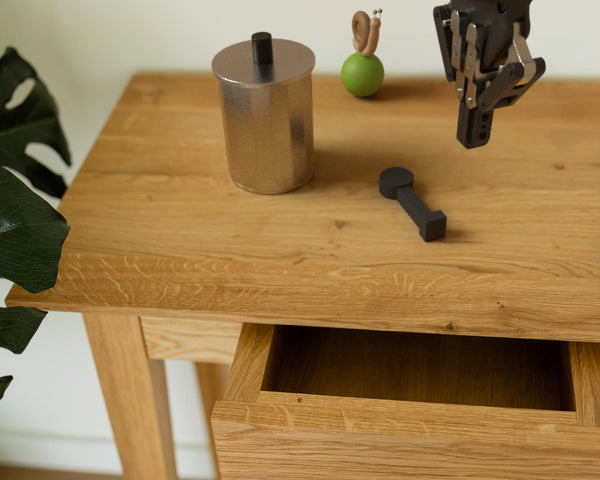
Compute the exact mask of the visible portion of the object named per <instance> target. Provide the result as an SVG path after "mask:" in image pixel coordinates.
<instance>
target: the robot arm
mask: <svg viewBox="0 0 600 480" xmlns="http://www.w3.org/2000/svg"><path fill="white" fill-rule="evenodd" d="M533 1H534V0H450V1H449V2H447V3H445V4H442V5H441V4H440V5H436V6H434V7H433V8H432V17H433V22H434V27H435V31H436V36H437V41H438V45H439V50H440V54H441V55H440V56H441V59H442V64H443V68H444V74H445V79H446V80H447V82H448V83H455V89H454V90H455V91H454V92H455V95H456V98H457V99H458V100H459V107H458V115H457V127H456V136H455V138H456V141H458V143H459V144H461V145H462V146H463V148H465V149H466V150H472V149H476V148H481V147H485V146H486V145H487V144H489V141H490V139H491V135H492V134H491V133H492V132H491V131H492V126H493V121H494V112H495V110H498V109H502V108H507V107H512V106H514V105H515V104H516V103H517V102H518V101H519V100H520V99H521V98H522V97H523V95H525V93H527V92H528V91H529V89H531V88H532V87H533V86H534V85H535V83H537V81H538V80H539V79H540V78H542V76H543V75H544V74H546V70H547V64H546V60H545V59H544V58H543V57H542V56H538V57H533V56H532V54H531V52H530V48H529V46H528V43H527V40H528V38H529V36H530V35H531V28H532V27H531V24H532V23H531V17H530V15H531V13H530V11H531V10H530V9H531V4H532V2H533ZM532 57H533V58H532Z"/></svg>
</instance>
